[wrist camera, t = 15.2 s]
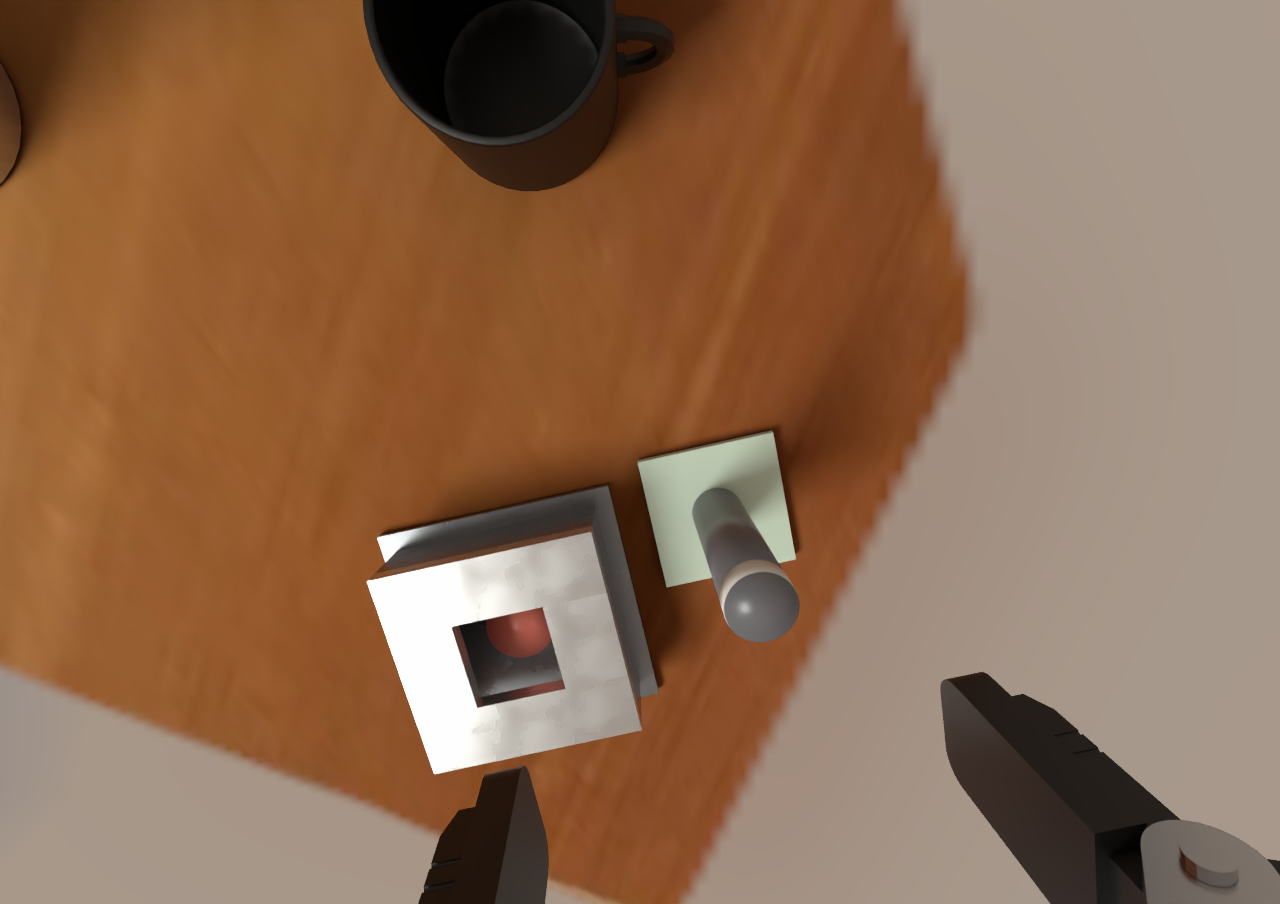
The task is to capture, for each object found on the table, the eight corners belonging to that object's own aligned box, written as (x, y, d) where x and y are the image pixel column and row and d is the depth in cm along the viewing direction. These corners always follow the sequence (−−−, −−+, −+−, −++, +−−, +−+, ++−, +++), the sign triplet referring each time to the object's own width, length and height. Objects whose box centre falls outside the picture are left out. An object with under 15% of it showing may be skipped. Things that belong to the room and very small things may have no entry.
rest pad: (665, 583, 37) (666, 587, 37) (637, 460, 36) (637, 462, 35) (793, 555, 37) (796, 559, 37) (770, 430, 36) (773, 432, 35)
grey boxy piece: (447, 733, 39) (422, 792, 34) (380, 534, 36) (342, 568, 31) (658, 688, 39) (663, 741, 34) (608, 483, 36) (605, 509, 31)
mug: (673, 182, 32) (691, 131, 24) (449, 199, 32) (383, 155, 24) (661, -19, 30) (675, -157, 22) (422, -1, 30) (338, -132, 22)
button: (498, 656, 37) (496, 663, 37) (481, 598, 36) (477, 604, 36) (562, 642, 37) (560, 649, 36) (545, 583, 36) (543, 589, 36)
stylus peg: (697, 541, 36) (731, 649, 25) (687, 493, 36) (717, 581, 24) (747, 530, 36) (805, 633, 24) (737, 482, 36) (792, 564, 24)
